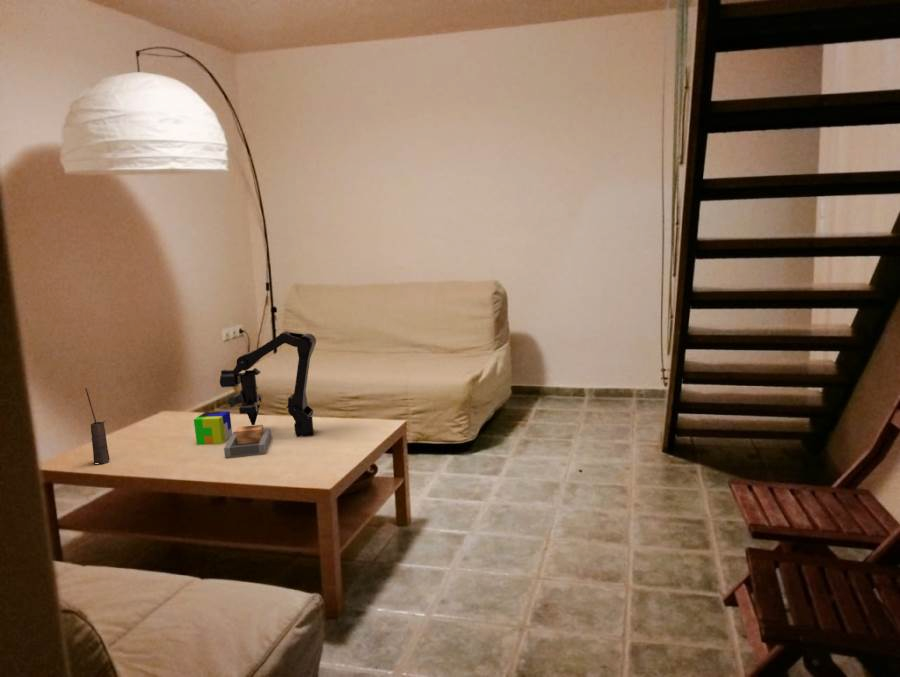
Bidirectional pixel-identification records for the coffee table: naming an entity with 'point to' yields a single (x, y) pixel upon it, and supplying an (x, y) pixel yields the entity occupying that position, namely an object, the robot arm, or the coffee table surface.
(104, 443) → the butter churn
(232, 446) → the chute
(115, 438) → the coffee table surface
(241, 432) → the orange block
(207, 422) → the puzzle toy
